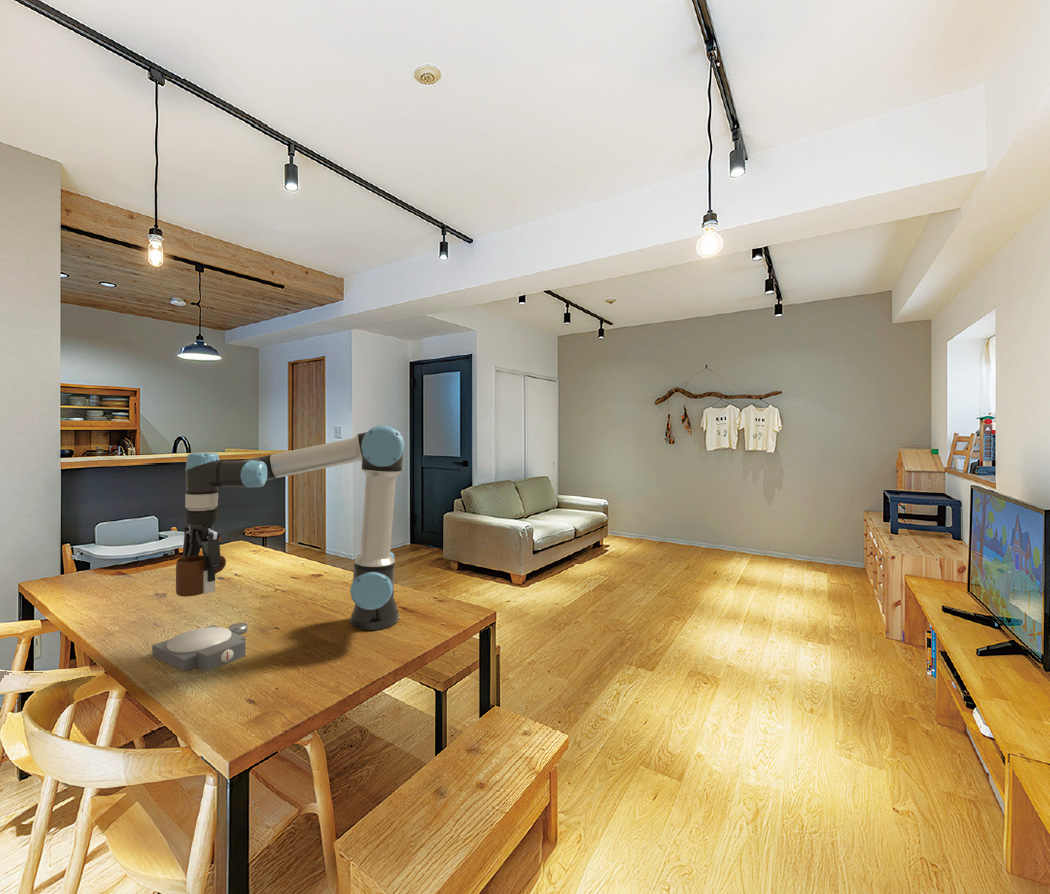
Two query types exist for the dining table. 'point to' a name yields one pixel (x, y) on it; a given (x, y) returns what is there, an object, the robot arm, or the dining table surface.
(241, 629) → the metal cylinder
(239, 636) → the scale
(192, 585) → the mug
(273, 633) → the dining table surface
